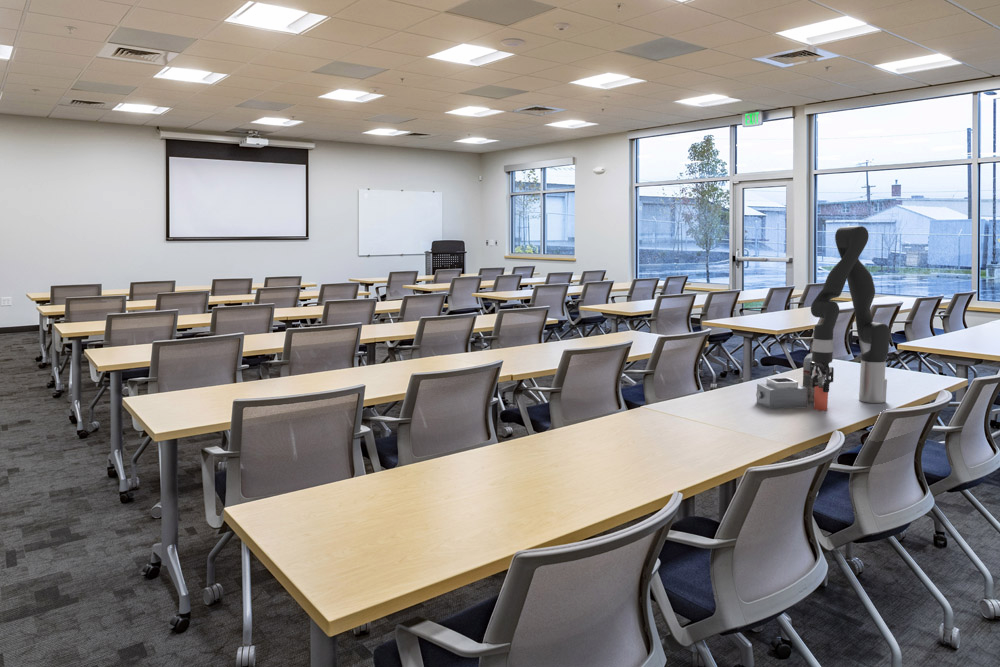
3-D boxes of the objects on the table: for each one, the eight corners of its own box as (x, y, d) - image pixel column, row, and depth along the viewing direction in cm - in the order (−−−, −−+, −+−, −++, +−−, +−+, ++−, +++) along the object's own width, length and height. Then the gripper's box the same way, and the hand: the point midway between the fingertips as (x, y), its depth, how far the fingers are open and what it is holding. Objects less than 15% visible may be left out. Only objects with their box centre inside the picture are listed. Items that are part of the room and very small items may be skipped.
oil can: (823, 407, 291) (824, 380, 289) (829, 410, 286) (830, 383, 284) (811, 407, 291) (812, 381, 289) (817, 410, 286) (818, 384, 284)
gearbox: (793, 400, 303) (793, 376, 301) (807, 407, 291) (808, 382, 290) (753, 402, 302) (754, 378, 300) (766, 409, 290) (767, 384, 288)
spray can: (826, 402, 298) (828, 355, 295) (806, 403, 298) (808, 356, 296) (817, 397, 307) (819, 352, 304) (798, 398, 307) (800, 352, 304)
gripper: (841, 352, 278) (838, 393, 280) (822, 347, 292) (820, 385, 295) (822, 353, 278) (820, 393, 280) (804, 347, 292) (802, 386, 294)
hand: (820, 389), depth 287 cm, fingers open, 8 cm apart
